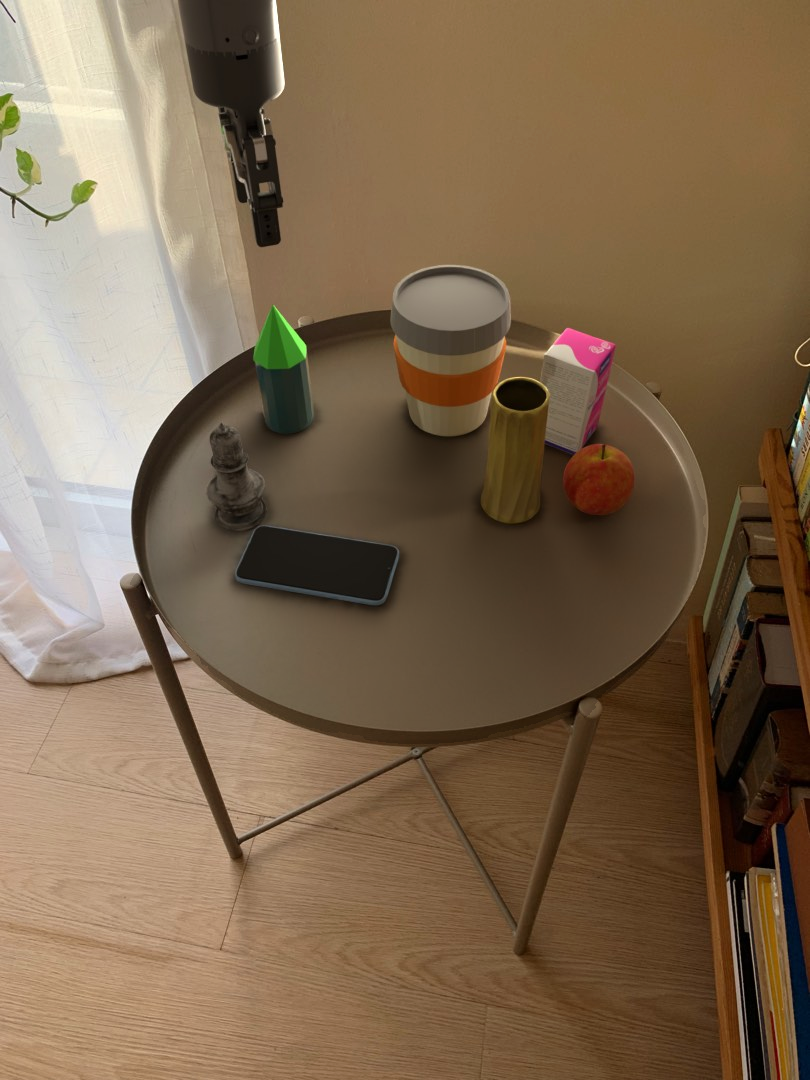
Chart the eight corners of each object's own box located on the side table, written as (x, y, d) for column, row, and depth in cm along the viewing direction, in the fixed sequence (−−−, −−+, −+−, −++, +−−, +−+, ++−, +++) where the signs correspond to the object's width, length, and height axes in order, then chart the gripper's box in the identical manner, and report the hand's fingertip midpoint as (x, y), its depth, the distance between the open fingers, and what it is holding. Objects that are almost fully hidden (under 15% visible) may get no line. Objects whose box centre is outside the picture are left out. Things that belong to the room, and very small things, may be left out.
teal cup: (270, 438, 99) (259, 373, 92) (260, 407, 102) (248, 343, 95) (319, 427, 100) (311, 362, 93) (307, 397, 103) (299, 332, 97)
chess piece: (266, 533, 89) (248, 444, 80) (208, 533, 89) (184, 444, 80) (272, 491, 93) (256, 402, 84) (217, 491, 93) (195, 402, 84)
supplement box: (578, 457, 96) (594, 372, 87) (529, 438, 98) (540, 354, 89) (600, 427, 99) (617, 342, 90) (552, 409, 101) (564, 325, 93)
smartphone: (256, 522, 89) (401, 545, 86) (257, 528, 89) (401, 550, 87) (230, 578, 84) (384, 603, 82) (232, 583, 85) (384, 609, 82)
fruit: (633, 528, 89) (648, 471, 83) (564, 530, 89) (574, 472, 83) (621, 480, 93) (634, 422, 87) (555, 481, 93) (564, 423, 87)
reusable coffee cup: (433, 363, 107) (435, 251, 96) (523, 401, 102) (535, 287, 91) (371, 419, 100) (364, 305, 89) (463, 462, 95) (469, 347, 84)
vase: (472, 515, 90) (478, 406, 80) (491, 476, 94) (500, 367, 83) (530, 531, 89) (544, 422, 78) (547, 490, 92) (562, 381, 82)
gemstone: (244, 344, 95) (235, 296, 91) (297, 330, 97) (291, 282, 92) (261, 376, 92) (253, 327, 87) (316, 361, 93) (310, 312, 89)
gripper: (170, 7, 74) (205, 193, 86) (199, 69, 65) (233, 267, 77) (258, -3, 75) (280, 181, 87) (298, 56, 66) (317, 252, 78)
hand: (258, 221), depth 82 cm, fingers open, 8 cm apart
